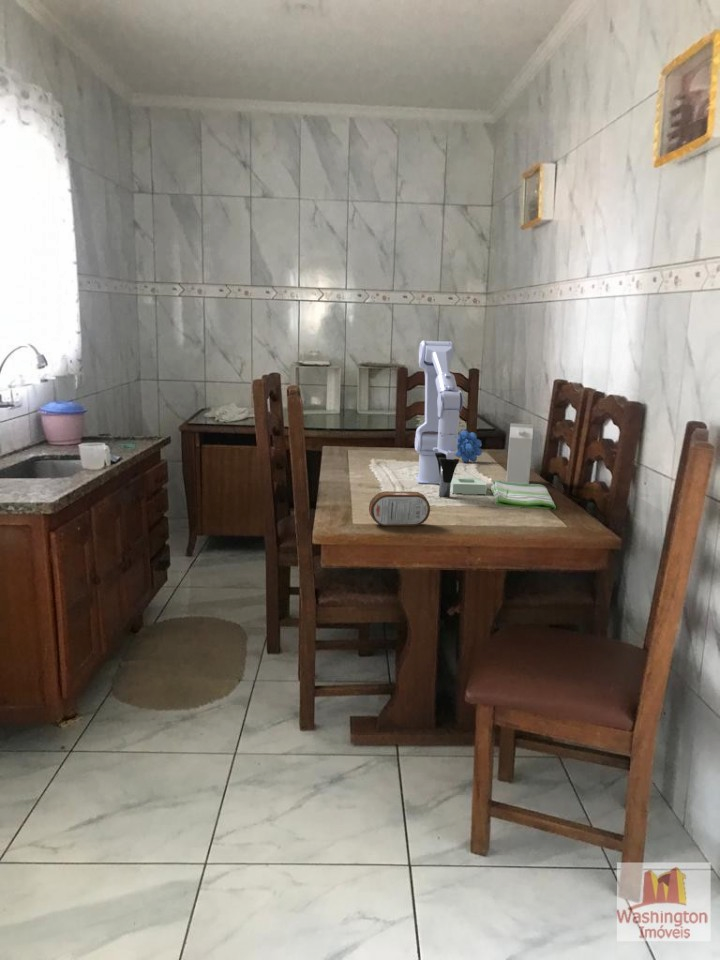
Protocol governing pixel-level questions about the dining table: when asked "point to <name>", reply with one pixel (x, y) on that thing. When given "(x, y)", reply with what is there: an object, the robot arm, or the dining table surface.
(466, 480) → the socket
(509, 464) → the milk carton
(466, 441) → the grapes
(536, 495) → the dish towel
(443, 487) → the peg
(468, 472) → the dining table surface
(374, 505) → the tin
